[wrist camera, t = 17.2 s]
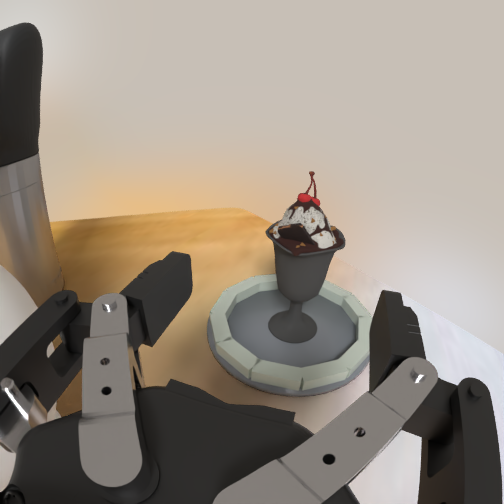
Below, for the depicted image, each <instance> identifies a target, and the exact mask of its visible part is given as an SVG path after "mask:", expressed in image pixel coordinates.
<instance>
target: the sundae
mask: <svg viewBox="0 0 504 504" xmlns="http://www.w3.org/2000/svg"><path fill="white" fill-rule="evenodd" d="M309 174H310V176H311V184H310V187H309V188H308V190H307V191H306V193H300V194H299V195H298V198H297V202H296V203H294V204H292V205H291V206H290V207H289V208H288V209H287V210H286V212H285V214H284V216H283V219H282V220H280V221H278V222H276V223H274V224H273V225H271V226H270V227H269V228H268V229H267V230H266V235H267V236H268V237H269V238H270V239H271V240H272V241H273V244H274V251H275V267H276V278H277V285H278V289H279V291H280V292H281V293H282V294H283V295H284V296H285V297H286V298H287V299H289V300H290V308H289V310H286V311H282V312H278V313H276V314H275V315H273V316H272V317H271V318H270V320H269V322H268V327H269V330H270V332H271V333H272V335H273V336H275V337H276V338H278V339H279V340H281V341H284V342H288V343H303V342H306V341H308V340H310V339H312V338H313V337H314V336H315V335H316V333H317V325H316V322H315V321H314V320H313V319H312V318H311V317H310V316H309V315H307V314H305V313H303V312H302V305H303V302H306V301H309V300H311V299H312V298H314V297H316V296H317V295H318V294H319V292H320V290H321V288H322V285H323V283H324V280H325V277H326V274H327V271H328V268H329V265H330V262H331V260H332V257H333V255H334V253H335V252H336V251H337V250H339V249H342V248H344V247H345V238H344V236H343V234H342V232H341V231H339V230H338V229H337V228H336V227H335V226H330V223H329V221H328V219H327V217H326V216H325V214H324V213H323V211H322V209H321V208H320V207H319V205H320V201H319V199H317V198H316V185H315V181H314V179H313V175H314V174H315V173H314V172H309ZM312 182H314V197H311V196H310V195H308V192H309V190H310V188H311V185H312Z"/></svg>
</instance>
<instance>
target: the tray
mask: <svg viewBox="0 0 504 504" xmlns="http://www.w3.org/2000/svg"><path fill="white" fill-rule="evenodd" d="M289 308H290V300H289V299H287V298H286V297H285V296H284V295H283V294H282V293H281V292H280V291H279V289H278V285H277V278H276V274H269V275H259V276H254V277H250V278H248V279H246V280H244V281H242V282H240V283H238V284H235V285H233V286H231V287H229V288H227V289H226V291H225V290H224V291H223V293H222V294H221V296H220V297H219V299H218V300H217V302H216V303H215V305H214V307H213V308H212V310H211V311H210V316H209V319H208V324H207V336H208V343H209V346H210V349H211V351H212V353H213V355H214V357H215V358H216V360H217V361H218V362H219V364H220V365H221V366H222V367H223V368H224V369H225V370H226V371H227V372H228V373H230V374H231V375H232V376H234V377H235V378H236V379H238V380H239V381H241V382H243V383H245V384H246V385H248V386H251V387H253V388H256V389H258V390H261V391H264V392H268V393H271V394H277V395H283V396H297V397H302V396H314V395H319V394H324V393H327V392H331V391H333V390H336V389H339V388H341V387H343V386H345V385H347V384H348V383H350V382H351V381H352V380H354V379H355V378H356V377H357V376H358V375H359V374H360V373H361V372H362V371H363V370H364V369H365V367H366V366H367V364H368V362H369V360H370V351H369V332H370V326H371V322H372V317H371V315H370V313H369V312H368V311H367V310H366V309H365V307H364V306H363V305H362V304H361V303H360V301H359V300H358V299H357V298H356V297H355V296H354V295H352V293H350V292H348V291H346V290H344V289H342V288H340V287H338V286H336V285H334V284H332V283H330V282H328V281H326V280H324V283H323V285H322V288H321V290H320V292H319V294H318V295H317V296H316V297H314V298H312V299H311V300H309V301H306V302H303V305H302V312H303V313H305V314H307V315H309V316H310V317H311V318H312V319H313V320H314V321H315V322H316V325H317V333H316V335H315V336H314V337H313V338H312V339H310V340H308V341H306V342H303V343H288V342H284V341H281V340H279V339H278V338H276V337H275V336H273V335H272V333H271V332H270V330H269V327H268V322H269V320H270V318H271V317H272V316H273V315H275V314H276V313H278V312H282V311H286V310H289Z"/></svg>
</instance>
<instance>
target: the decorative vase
mask: <svg viewBox="0 0 504 504" xmlns="http://www.w3.org/2000/svg"><path fill="white" fill-rule="evenodd" d="M37 309H38V308H37V306H36V304H35V303H34V301H33V300H32V298H31V297H30V295H29V294H28V292H27V291H26V290H25V288H24V287H23V286H22V285H21V284H20V283H19V281H18V280H17V279H16V278H15V277H14V276H13V275H12V274H11V273H9V272H8V271H7V270H6V269H5V268H4V267H3V266H1V265H0V345H1V344H2V343H3V342H4V341H5V340H6V339H7V338H8V337H9V336H10V335H11V334H12V333H13V332H14V331H15V330H16V329H17V328H18V327H19V326H20V325H21V324H22V323H23V322H24V321H25V320H26V319H27V318H28V317H29V316H30V315H31V314H32V313H33V312H34V311H36V310H37ZM54 351H55V350H54V346H53V343H52V342H51V343H50V344H49V346H48V348H47V356H48V358H49V356H50V355H51V354H52V353H53V352H54ZM56 404H57V401H56V402H55V404H54V405H53V407H52V408H51V409H50V411H49V412H48V413H47V421H46V422H49V421H52V420H55V419H58V418H61V416H60V414H59V413H58V411H57V410H56ZM15 459H16V454H15V453H11V452H8V451H6V450H5V449H4V448H3V447H2V446H0V492H2V491H3V490H4V489H5V488H6V487H7V485H8V483H9V481H10V479H11V476H12V473H13V469H14V465H15Z"/></svg>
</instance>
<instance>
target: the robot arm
mask: <svg viewBox="0 0 504 504" xmlns="http://www.w3.org/2000/svg"><path fill="white" fill-rule="evenodd" d="M42 64H43V48H42V40H41V36H40V33H39V31H38V30H37V28H36V27H35V26H34V25H33V24H31V23H20V24H17V25H14V26H11V27H8V28H6V29H4V30H1V31H0V265H1V266H3V267H4V268H5V269H6V270H7V271H8V272H9V273H11V274H12V275H13V276H14V277H15V278H16V279H17V280H18V281H19V283H20V284H21V285H22V286H23V287H24V288H25V290H26V291H27V292H28V294H29V295H30V297H31V298H32V300H33V301H34V303H35V304H36V306H37V308H38V309H37V310H36V311H34V312H33V313H32V314H31V315H30V316H29V317H28V318H27V319H26V320H25V321H24V322H23V323H22V324H21V325H20V326H19V327H18V328H17V329H16V330H15V331H14V332H13V333H12V334H11V335H10V336H9V337H8V338H7V339H6V340H5V341H4V342H3V343H2V344H1V345H0V446H2V447H3V448H4V449H5V450H6V451H8V452H11V453H15V454H16V459H15V465H14V469H13V473H12V476H11V479H10V481H9V483H8V485H7V487H6V488H5V489H4V490H3V491H2V492H0V504H360V503H359V502H358V500H357V498H356V497H355V495H354V494H353V492H352V491H351V489H350V487H349V486H348V485H349V484H350V483H351V482H352V481H353V480H354V479H355V478H356V477H357V476H359V475H360V474H361V473H362V472H363V471H364V470H365V469H366V468H367V467H368V466H369V465H370V464H371V463H372V462H373V460H374V459H375V458H376V457H377V456H378V455H379V454H380V453H381V452H382V451H383V450H384V449H385V448H386V447H387V446H388V445H389V444H390V443H391V441H392V440H393V439H394V438H395V437H396V436H397V435H398V434H399V432H400V431H401V430H404V431H406V432H409V433H411V434H414V435H417V436H420V437H422V449H421V470H420V484H419V494H418V504H502V475H501V462H500V452H499V443H498V435H497V429H496V422H495V416H494V411H493V405H492V400H491V396H490V392H489V390H488V388H487V386H486V385H485V384H484V383H483V382H482V381H480V380H478V379H476V378H465V379H463V380H462V381H461V382H460V383H459V385H458V386H457V385H455V384H452V383H449V382H447V381H444V380H442V379H440V378H438V373H437V370H436V368H435V367H434V366H433V365H432V364H431V363H430V362H429V361H427V360H426V356H425V351H424V346H423V341H422V336H421V335H420V333H421V332H420V327H419V323H418V318H417V315H416V314H415V313H414V311H413V310H412V309H411V307H406V306H403V301H402V296H401V293H398V292H392V291H386V290H382V292H381V294H380V297H379V301H378V304H377V307H376V310H375V313H374V316H373V318H372V322H371V326H370V332H369V351H370V378H369V391H367V392H366V393H364V394H363V395H362V396H361V397H360V398H359V399H357V400H356V401H355V402H354V403H353V404H352V405H351V406H349V407H348V408H347V409H346V410H345V411H343V412H342V413H341V414H340V415H339V416H337V417H336V418H335V419H334V420H333V421H331V422H330V423H329V424H328V425H326V426H325V427H324V428H322V429H321V430H320V431H319V432H317V433H316V434H315V435H314V434H313V433H312V432H311V431H309V430H308V429H307V428H305V427H303V426H302V425H300V424H298V423H296V422H293V420H294V416H295V412H290V411H285V410H280V409H276V408H271V407H267V406H260V405H235V404H227V403H225V402H223V401H221V400H219V399H217V398H215V397H214V396H212V395H210V394H208V393H207V392H205V391H203V390H201V389H200V388H197V387H194V386H191V385H188V384H185V383H182V382H179V381H176V380H173V379H170V381H169V383H168V384H167V386H166V387H164V386H153V387H145V383H144V377H143V370H142V364H141V357H140V351H139V347H140V345H141V344H145V345H148V346H150V347H153V345H154V344H155V343H156V341H157V340H158V339H159V337H160V336H161V335H162V333H163V332H164V331H165V329H166V328H167V327H168V325H169V324H170V323H171V321H172V320H173V319H174V318H175V316H176V315H177V314H178V312H179V311H180V310H181V308H182V307H183V306H184V304H185V303H186V302H187V301H188V299H189V298H190V296H191V293H192V286H193V284H192V270H191V258H190V255H189V254H184V253H179V252H174V251H172V252H171V253H169V254H168V255H167V256H166V257H165V258H164V259H163V260H159V261H157V262H155V263H153V264H151V265H149V266H148V267H147V268H146V269H145V270H144V271H143V273H142V272H141V273H140V274H139V275H138V276H137V278H135V279H134V280H133V281H132V282H131V283H130V284H129V285H128V286H126V287H125V288H124V289H123V290H122V291H121V292H120V293H119V294H118V293H109V294H105V295H102V296H100V297H98V298H97V299H96V300H95V301H94V302H93V303H83V302H79V300H78V297H77V294H76V293H75V292H74V291H71V290H63V291H61V290H62V289H63V286H64V279H63V275H62V271H61V267H60V264H59V261H58V257H57V252H56V248H55V244H54V240H53V236H52V231H51V227H50V222H49V217H48V212H47V206H46V201H45V195H44V189H43V182H42V175H41V167H40V158H39V153H38V152H39V148H38V136H39V128H40V91H41V76H42ZM58 334H59V335H60V337H61V339H62V343H61V344H60V345H59V346H58V347H57V348H56V350H55V351H54V352H53V353H52V354H51V355H50V356H49V358H48V356H47V348H48V346H49V344H50V343H51V342H52V341H53V340H54V339H55V338H56V337H57V336H58ZM81 368H82V410H81V411H78V412H76V413H73V414H70V415H67V416H64V417H61V418H58V419H55V420H52V421H49V422H46V421H47V413H48V412H49V411H50V409H51V408H52V407H53V405H54V404H55V402H56V401H57V400H58V398H59V397H60V396H61V394H62V393H63V392H64V390H65V389H66V388H67V386H68V385H69V384H70V382H71V381H72V380H73V378H74V377H75V376H76V375H77V373H78V372H79V371H80V369H81Z"/></svg>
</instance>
